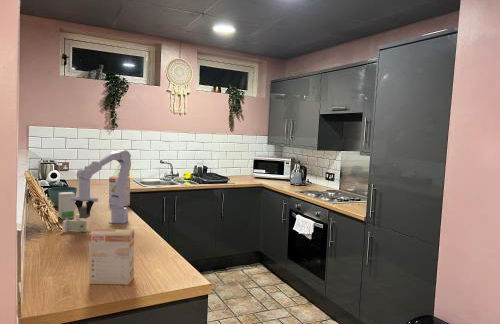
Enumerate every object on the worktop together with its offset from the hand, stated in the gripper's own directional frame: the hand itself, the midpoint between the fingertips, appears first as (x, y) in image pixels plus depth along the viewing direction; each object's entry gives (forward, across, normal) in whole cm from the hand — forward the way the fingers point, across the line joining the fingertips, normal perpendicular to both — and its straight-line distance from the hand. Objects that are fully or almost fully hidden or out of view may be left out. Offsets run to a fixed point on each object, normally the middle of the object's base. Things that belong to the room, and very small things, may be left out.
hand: (84, 213), depth 208 cm
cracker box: (+9, -2, +62) cm, 62 cm away
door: (+8, -1, -7) cm, 11 cm away
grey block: (+2, 0, 0) cm, 2 cm away
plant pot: (+9, -40, +54) cm, 67 cm away
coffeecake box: (+9, +41, -67) cm, 79 cm away
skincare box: (+9, -22, +23) cm, 32 cm away
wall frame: (+8, -7, 0) cm, 11 cm away
